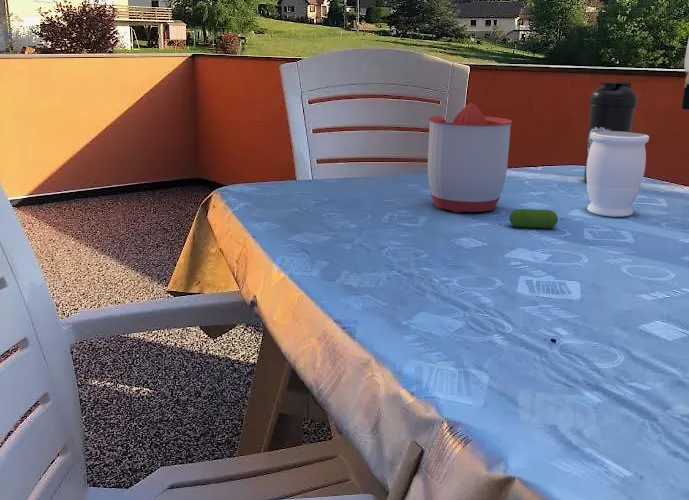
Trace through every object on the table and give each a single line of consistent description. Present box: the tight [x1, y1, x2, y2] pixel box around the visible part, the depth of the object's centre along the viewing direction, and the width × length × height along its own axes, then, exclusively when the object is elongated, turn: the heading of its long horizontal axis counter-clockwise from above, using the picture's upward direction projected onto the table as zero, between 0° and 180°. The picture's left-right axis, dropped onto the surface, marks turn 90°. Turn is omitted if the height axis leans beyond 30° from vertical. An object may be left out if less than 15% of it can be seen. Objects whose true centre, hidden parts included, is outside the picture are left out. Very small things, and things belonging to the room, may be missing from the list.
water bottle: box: [583, 80, 639, 184], centre depth 162 cm, size 10×10×23 cm
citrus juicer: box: [427, 102, 513, 214], centre depth 136 cm, size 16×17×20 cm
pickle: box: [509, 208, 559, 229], centre depth 123 cm, size 8×3×3 cm, turn 85°
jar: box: [586, 131, 650, 218], centre depth 134 cm, size 11×10×15 cm
